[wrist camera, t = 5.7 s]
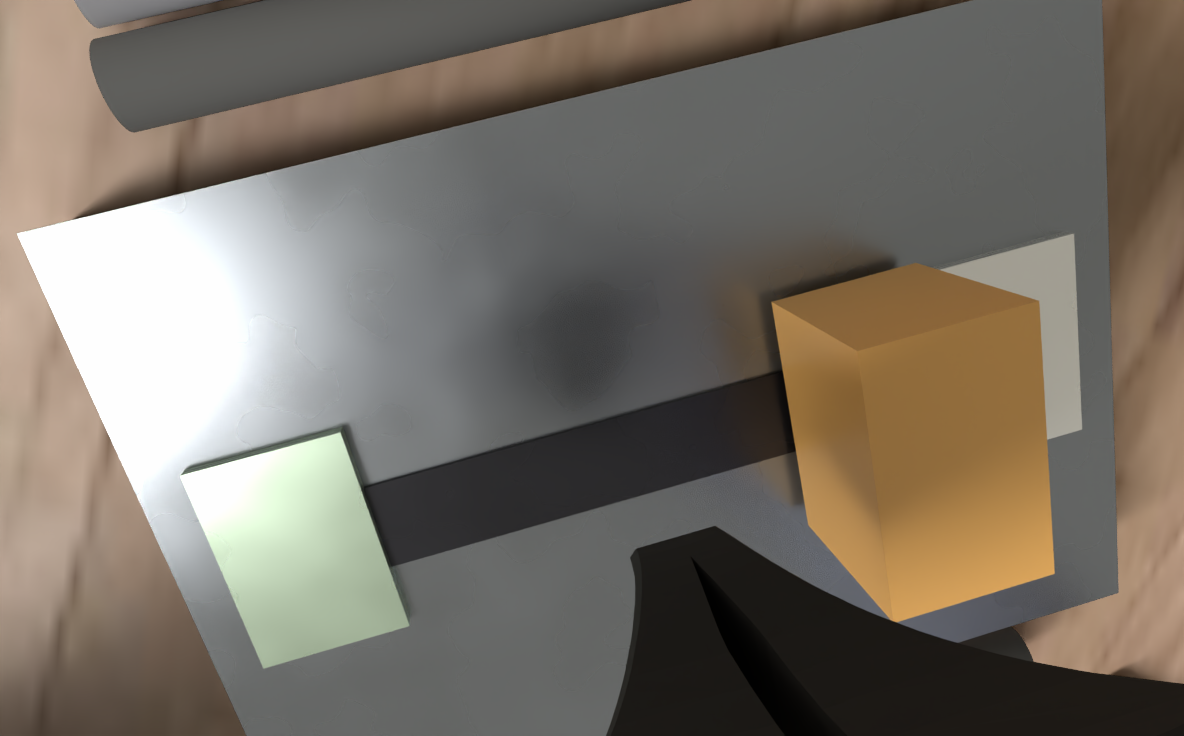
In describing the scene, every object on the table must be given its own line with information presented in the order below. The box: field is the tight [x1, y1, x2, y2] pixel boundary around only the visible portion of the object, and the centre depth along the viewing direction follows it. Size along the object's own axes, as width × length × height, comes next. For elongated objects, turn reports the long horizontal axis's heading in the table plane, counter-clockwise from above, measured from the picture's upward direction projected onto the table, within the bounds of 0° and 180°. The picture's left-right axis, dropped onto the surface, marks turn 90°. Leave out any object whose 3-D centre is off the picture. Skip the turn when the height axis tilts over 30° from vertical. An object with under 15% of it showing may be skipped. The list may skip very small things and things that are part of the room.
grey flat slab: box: [17, 0, 1118, 736], centre depth 18 cm, size 20×14×2 cm
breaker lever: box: [772, 263, 1055, 622], centre depth 15 cm, size 3×5×4 cm, turn 13°
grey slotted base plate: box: [74, 0, 1033, 662], centre depth 18 cm, size 16×21×2 cm
